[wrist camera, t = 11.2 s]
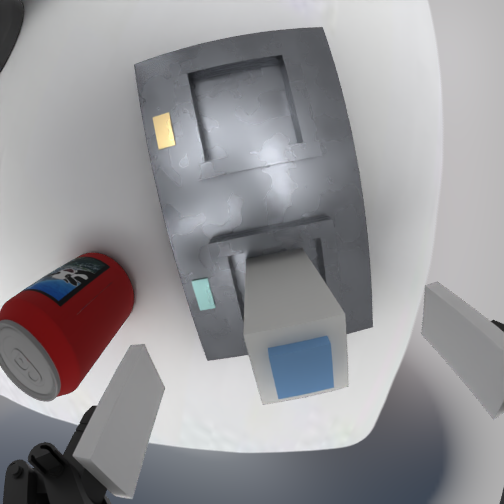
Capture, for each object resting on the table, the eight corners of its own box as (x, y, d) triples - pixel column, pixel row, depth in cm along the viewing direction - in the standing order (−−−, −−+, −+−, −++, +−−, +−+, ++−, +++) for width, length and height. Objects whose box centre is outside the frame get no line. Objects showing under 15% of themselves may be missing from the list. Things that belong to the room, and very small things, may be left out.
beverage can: (101, 233, 21) (0, 287, 10) (153, 296, 23) (88, 391, 11) (61, 278, 22) (-25, 341, 11) (107, 333, 24) (43, 420, 12)
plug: (245, 258, 20) (242, 343, 10) (301, 247, 20) (349, 321, 10) (257, 309, 22) (263, 413, 11) (309, 298, 21) (351, 395, 11)
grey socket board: (141, 70, 18) (124, 55, 15) (318, 35, 17) (329, 15, 14) (209, 350, 24) (204, 375, 21) (366, 318, 24) (381, 339, 20)
